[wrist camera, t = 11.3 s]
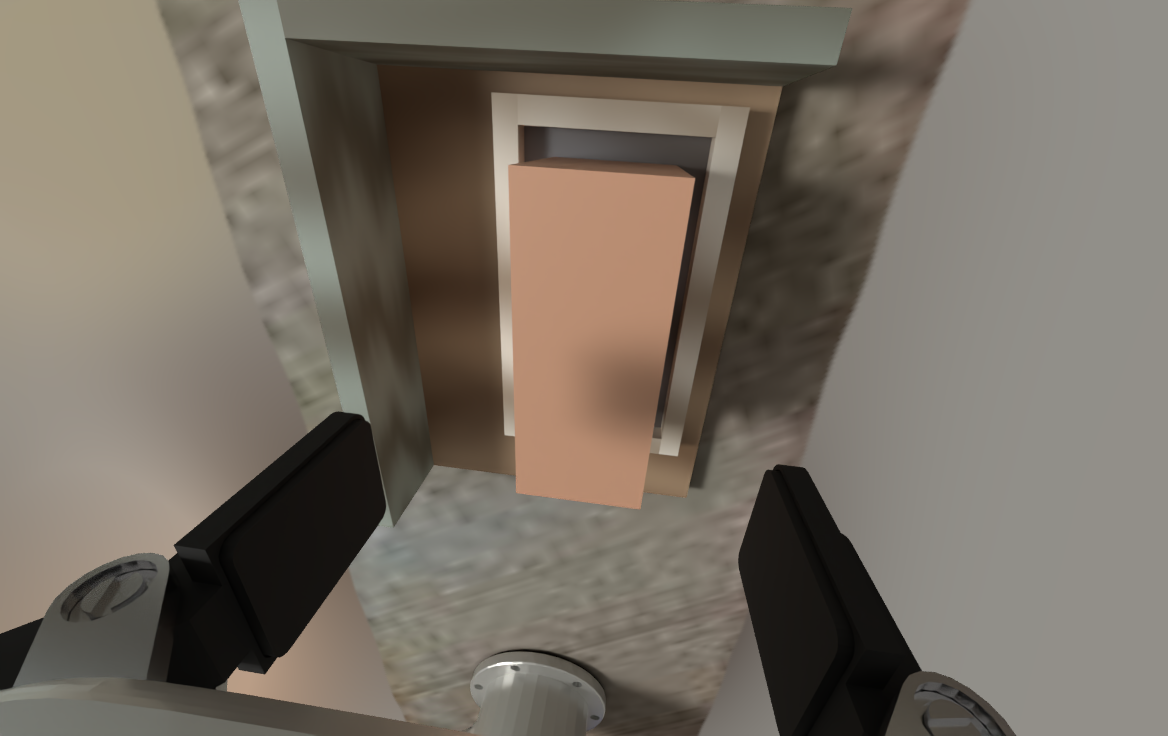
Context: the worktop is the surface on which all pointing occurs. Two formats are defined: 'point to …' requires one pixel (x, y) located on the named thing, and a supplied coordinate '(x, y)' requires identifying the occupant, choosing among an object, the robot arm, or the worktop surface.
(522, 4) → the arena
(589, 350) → the block
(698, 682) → the worktop surface
